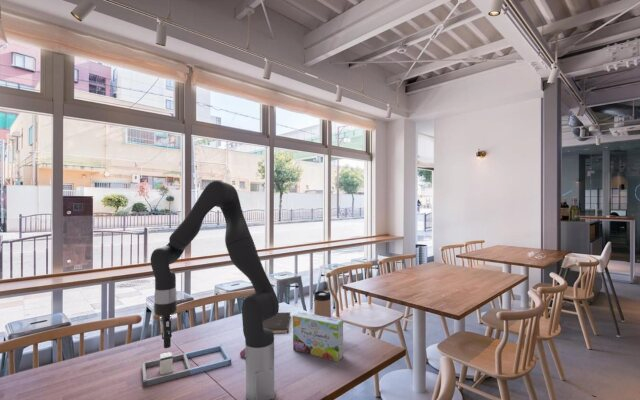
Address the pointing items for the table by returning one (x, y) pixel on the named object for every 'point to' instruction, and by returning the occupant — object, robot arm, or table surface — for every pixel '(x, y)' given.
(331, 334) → the snack box
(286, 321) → the hardcover book
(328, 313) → the travel mug
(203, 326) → the table surface
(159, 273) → the robot arm
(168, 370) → the grey rectangular block
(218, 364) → the two-cell open frame
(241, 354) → the video game controller
